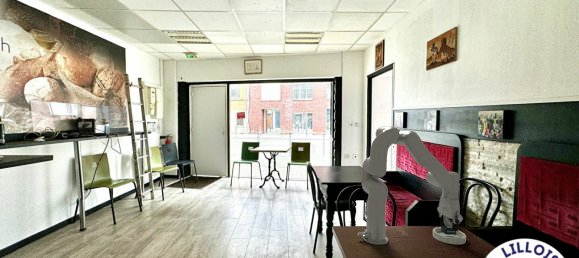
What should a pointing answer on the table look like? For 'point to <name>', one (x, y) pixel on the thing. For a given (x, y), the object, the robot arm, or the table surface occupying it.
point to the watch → (447, 226)
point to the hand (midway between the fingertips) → (448, 227)
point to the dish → (449, 237)
